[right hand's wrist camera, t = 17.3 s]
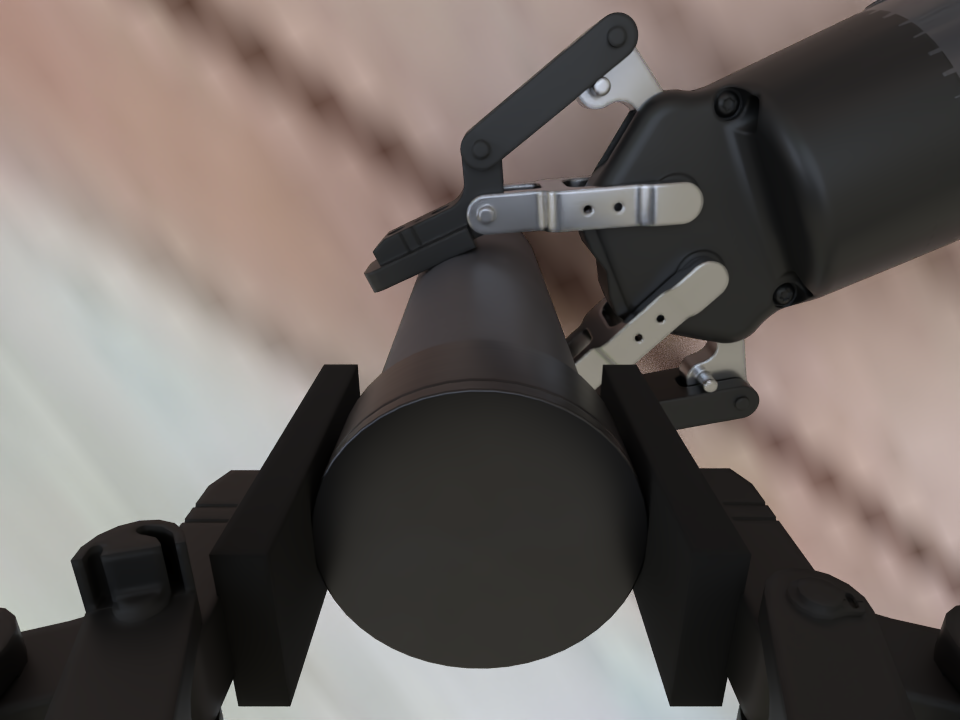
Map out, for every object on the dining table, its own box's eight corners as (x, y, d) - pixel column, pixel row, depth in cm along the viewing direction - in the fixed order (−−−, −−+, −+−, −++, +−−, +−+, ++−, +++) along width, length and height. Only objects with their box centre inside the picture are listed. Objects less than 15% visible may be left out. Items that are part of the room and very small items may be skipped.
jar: (451, 195, 26) (402, 342, 10) (556, 245, 27) (676, 458, 11) (406, 299, 28) (298, 573, 12) (506, 343, 29) (542, 660, 12)
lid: (512, 622, 14) (518, 712, 12) (288, 500, 13) (250, 578, 11) (679, 438, 12) (721, 506, 10) (439, 279, 11) (428, 319, 9)
